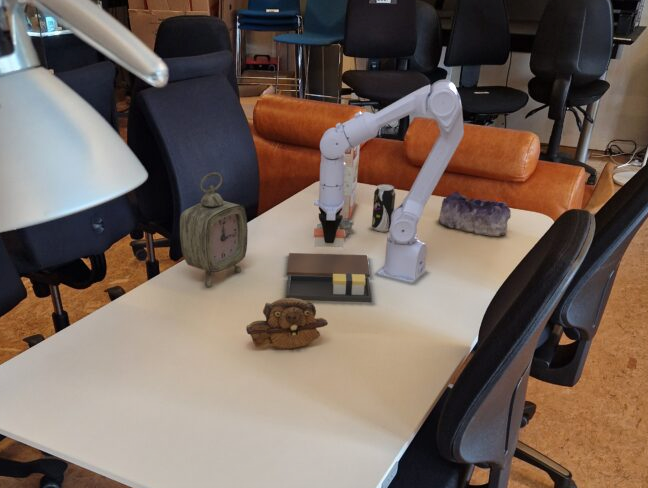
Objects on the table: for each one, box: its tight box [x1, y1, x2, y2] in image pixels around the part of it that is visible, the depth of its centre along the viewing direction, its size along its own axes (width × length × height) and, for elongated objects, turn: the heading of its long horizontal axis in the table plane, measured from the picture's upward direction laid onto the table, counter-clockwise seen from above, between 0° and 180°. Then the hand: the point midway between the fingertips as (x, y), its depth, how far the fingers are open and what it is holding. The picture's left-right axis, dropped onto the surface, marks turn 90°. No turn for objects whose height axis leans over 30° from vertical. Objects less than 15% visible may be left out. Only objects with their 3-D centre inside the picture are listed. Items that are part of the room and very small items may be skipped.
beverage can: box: [371, 183, 396, 233], centre depth 199 cm, size 6×6×12 cm
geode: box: [437, 190, 512, 237], centre depth 201 cm, size 20×12×10 cm, turn 64°
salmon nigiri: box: [313, 227, 346, 249], centre depth 175 cm, size 7×4×3 cm, turn 87°
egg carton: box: [316, 218, 355, 238], centre depth 198 cm, size 11×8×4 cm
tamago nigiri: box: [333, 273, 366, 295], centre depth 167 cm, size 7×4×4 cm, turn 87°
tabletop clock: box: [179, 172, 249, 288], centre depth 167 cm, size 14×9×25 cm, turn 143°
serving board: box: [286, 252, 371, 279], centre depth 179 cm, size 20×12×1 cm, turn 87°
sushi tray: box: [285, 275, 372, 303], centre depth 168 cm, size 19×11×2 cm, turn 87°
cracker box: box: [339, 144, 361, 220], centre depth 209 cm, size 14×6×21 cm, turn 168°
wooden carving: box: [245, 297, 329, 349], centre depth 144 cm, size 16×5×10 cm, turn 105°
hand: (329, 239), depth 175 cm, fingers closed on salmon nigiri, 4 cm apart
